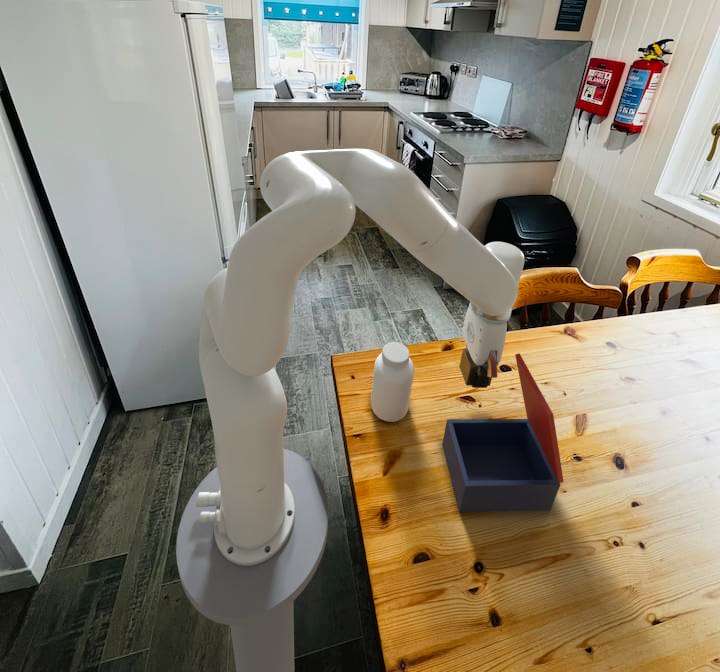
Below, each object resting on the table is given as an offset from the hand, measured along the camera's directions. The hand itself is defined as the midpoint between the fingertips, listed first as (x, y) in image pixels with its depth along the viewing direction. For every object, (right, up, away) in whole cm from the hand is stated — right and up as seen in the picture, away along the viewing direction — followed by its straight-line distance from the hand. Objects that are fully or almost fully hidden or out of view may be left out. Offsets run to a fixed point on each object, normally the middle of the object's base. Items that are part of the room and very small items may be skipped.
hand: (474, 374), depth 83 cm
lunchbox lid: (+5, +1, -17) cm, 18 cm away
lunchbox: (0, -13, -12) cm, 17 cm away
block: (0, 0, 0) cm, 0 cm away
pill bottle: (-18, -7, 0) cm, 19 cm away
